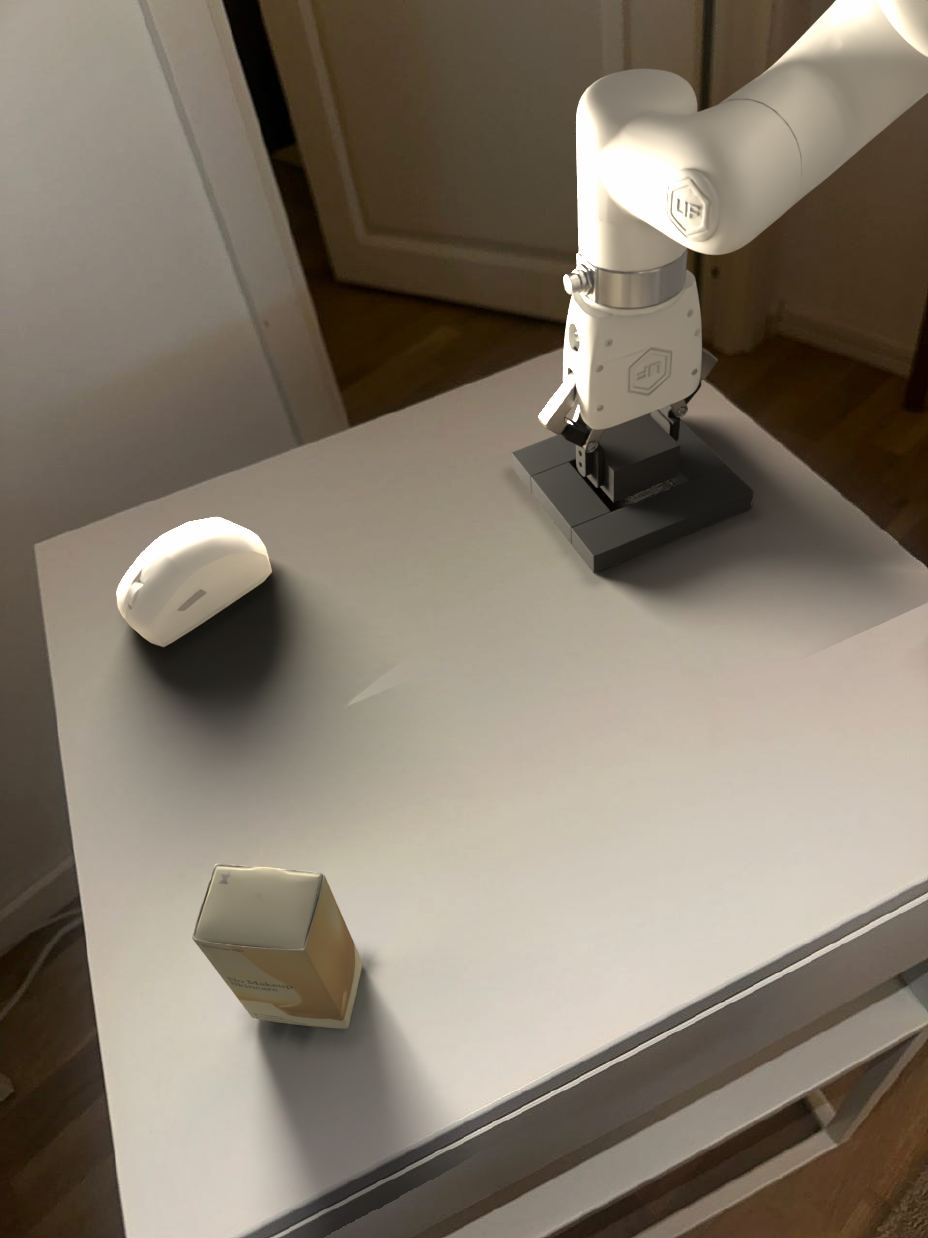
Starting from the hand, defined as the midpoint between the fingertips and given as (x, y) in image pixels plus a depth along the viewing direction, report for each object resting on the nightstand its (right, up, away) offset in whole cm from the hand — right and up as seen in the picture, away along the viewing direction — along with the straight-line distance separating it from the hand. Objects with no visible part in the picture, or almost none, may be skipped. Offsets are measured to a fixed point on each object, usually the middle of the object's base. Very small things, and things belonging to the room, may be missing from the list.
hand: (627, 461), depth 82 cm
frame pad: (0, -2, +2) cm, 3 cm away
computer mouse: (-36, -11, 0) cm, 38 cm away
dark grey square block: (0, -1, +1) cm, 1 cm away
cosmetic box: (-23, -36, -23) cm, 49 cm away
